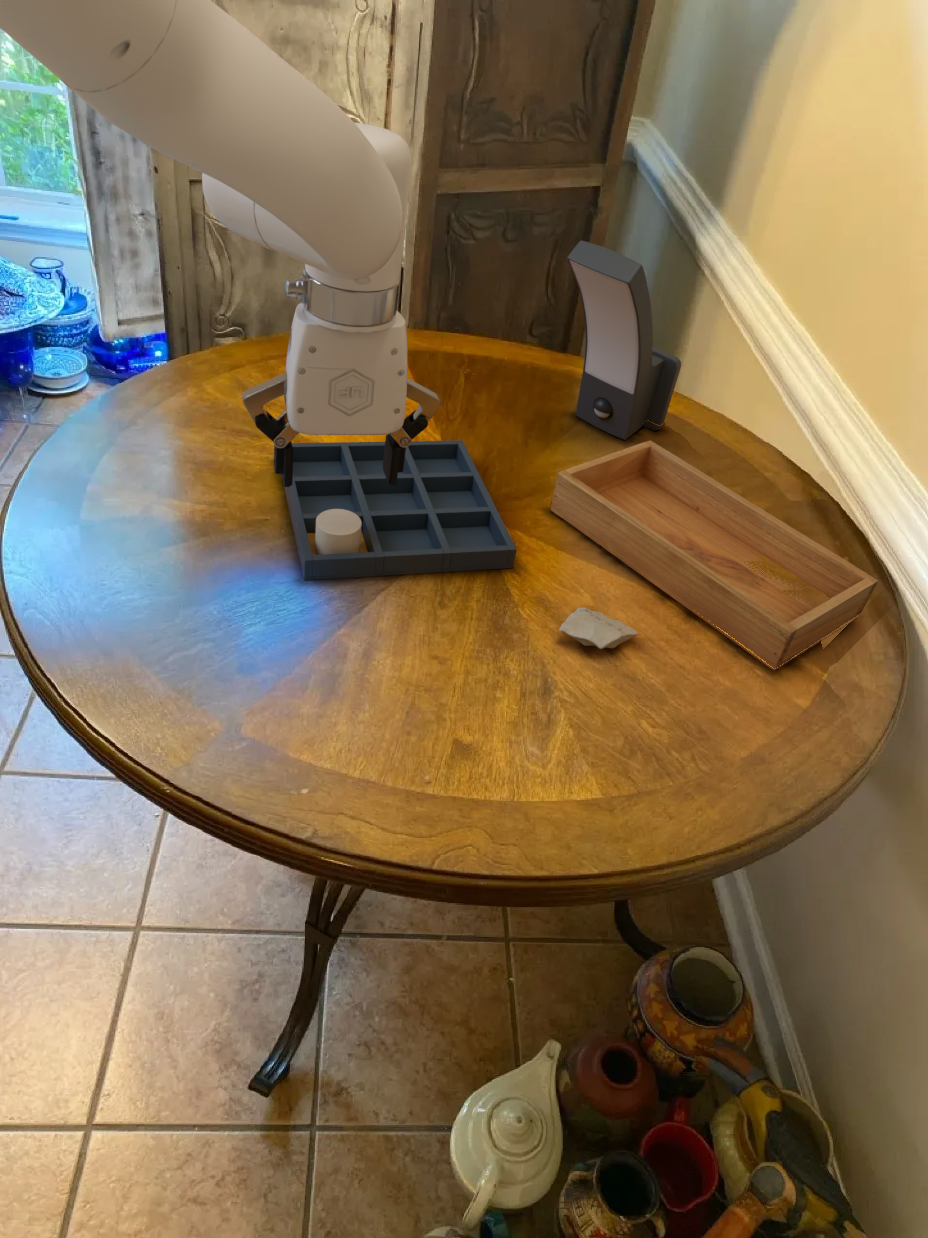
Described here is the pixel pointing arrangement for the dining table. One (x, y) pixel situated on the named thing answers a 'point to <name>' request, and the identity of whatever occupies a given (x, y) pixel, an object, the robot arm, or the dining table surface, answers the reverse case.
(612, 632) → the stone
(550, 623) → the dining table surface
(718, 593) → the tray
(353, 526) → the cylinder
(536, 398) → the dining table surface
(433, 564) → the grid
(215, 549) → the dining table surface
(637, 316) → the light fixture
